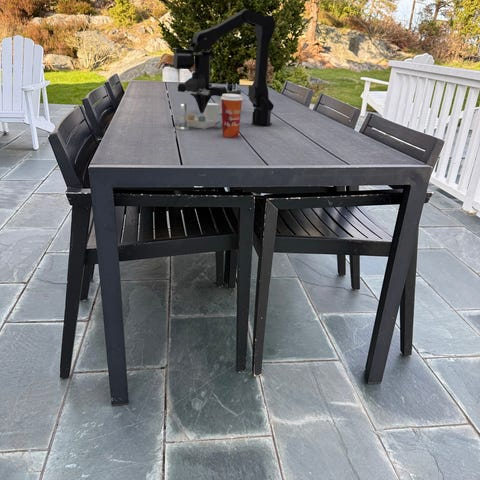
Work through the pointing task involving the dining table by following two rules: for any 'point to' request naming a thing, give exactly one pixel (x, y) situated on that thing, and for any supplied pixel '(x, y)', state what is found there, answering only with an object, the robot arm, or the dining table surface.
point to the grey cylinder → (212, 112)
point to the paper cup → (231, 114)
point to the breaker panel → (199, 122)
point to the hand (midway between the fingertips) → (201, 112)
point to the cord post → (182, 117)
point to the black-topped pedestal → (229, 91)
